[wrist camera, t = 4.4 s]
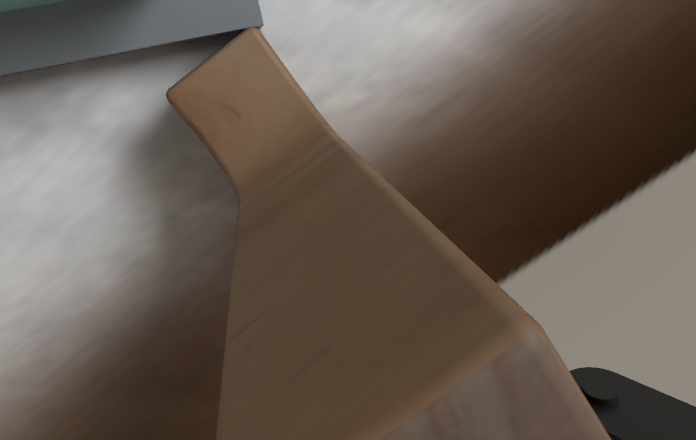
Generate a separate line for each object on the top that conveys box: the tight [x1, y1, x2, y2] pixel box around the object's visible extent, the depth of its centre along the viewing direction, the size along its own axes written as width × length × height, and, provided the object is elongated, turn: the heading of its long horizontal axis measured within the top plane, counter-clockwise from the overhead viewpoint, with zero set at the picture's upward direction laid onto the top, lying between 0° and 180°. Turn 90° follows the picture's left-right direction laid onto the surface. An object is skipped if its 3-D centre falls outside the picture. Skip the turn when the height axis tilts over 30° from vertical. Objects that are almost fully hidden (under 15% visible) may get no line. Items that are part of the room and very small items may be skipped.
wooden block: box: [166, 27, 611, 440], centre depth 10 cm, size 7×3×15 cm, turn 35°
